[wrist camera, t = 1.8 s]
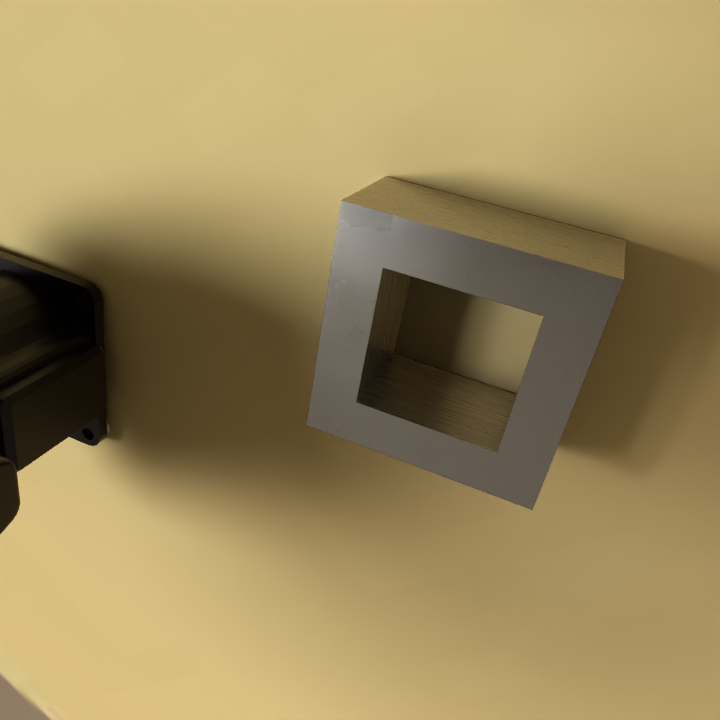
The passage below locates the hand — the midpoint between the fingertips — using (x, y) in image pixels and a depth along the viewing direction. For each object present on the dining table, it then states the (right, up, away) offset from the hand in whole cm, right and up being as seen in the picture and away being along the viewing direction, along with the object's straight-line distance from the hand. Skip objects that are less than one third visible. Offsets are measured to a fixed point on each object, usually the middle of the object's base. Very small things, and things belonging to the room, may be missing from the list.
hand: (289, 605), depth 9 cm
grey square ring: (+4, +4, +9) cm, 11 cm away
